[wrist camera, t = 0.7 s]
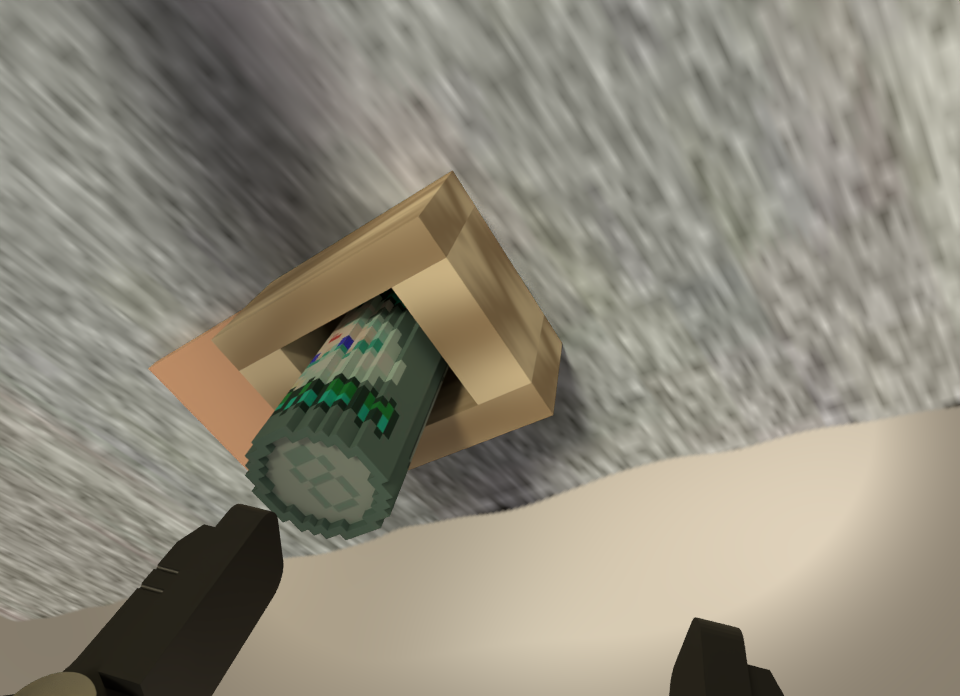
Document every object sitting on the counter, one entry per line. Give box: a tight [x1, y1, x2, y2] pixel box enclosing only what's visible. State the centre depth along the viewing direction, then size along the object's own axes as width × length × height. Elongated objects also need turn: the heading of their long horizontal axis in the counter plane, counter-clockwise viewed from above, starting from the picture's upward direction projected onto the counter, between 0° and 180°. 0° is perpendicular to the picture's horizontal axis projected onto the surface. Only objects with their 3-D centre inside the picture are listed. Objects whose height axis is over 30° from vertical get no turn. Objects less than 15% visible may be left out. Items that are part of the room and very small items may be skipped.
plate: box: [148, 309, 275, 470], centre depth 43 cm, size 11×11×1 cm
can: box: [245, 288, 449, 540], centre depth 32 cm, size 6×6×15 cm
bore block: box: [211, 171, 562, 470], centre depth 35 cm, size 12×14×7 cm
